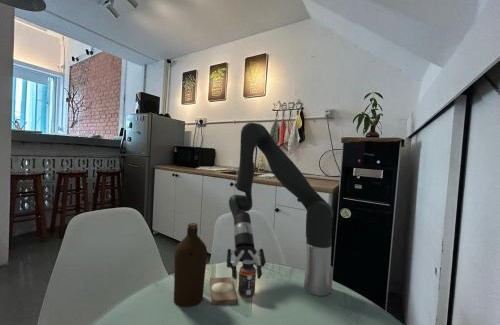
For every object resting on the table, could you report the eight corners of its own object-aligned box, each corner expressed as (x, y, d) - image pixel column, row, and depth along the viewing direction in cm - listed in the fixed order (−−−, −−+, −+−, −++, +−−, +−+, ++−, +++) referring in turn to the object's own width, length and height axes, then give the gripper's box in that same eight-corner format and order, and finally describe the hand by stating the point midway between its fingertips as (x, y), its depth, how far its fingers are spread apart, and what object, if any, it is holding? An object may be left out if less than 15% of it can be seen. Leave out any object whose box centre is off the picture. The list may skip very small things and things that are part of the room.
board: (230, 281, 95) (230, 276, 95) (236, 303, 80) (236, 298, 80) (209, 281, 94) (210, 277, 94) (211, 305, 78) (212, 300, 78)
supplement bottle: (253, 299, 83) (254, 265, 83) (236, 296, 84) (238, 263, 84) (256, 290, 89) (257, 259, 89) (240, 288, 90) (241, 257, 90)
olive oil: (210, 301, 80) (214, 225, 81) (180, 312, 73) (185, 229, 74) (194, 288, 88) (198, 219, 89) (166, 297, 81) (170, 222, 82)
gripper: (227, 231, 94) (228, 274, 82) (262, 231, 96) (269, 273, 85) (225, 241, 99) (226, 283, 87) (259, 241, 101) (264, 281, 90)
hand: (247, 278), depth 86 cm, fingers open, 8 cm apart
